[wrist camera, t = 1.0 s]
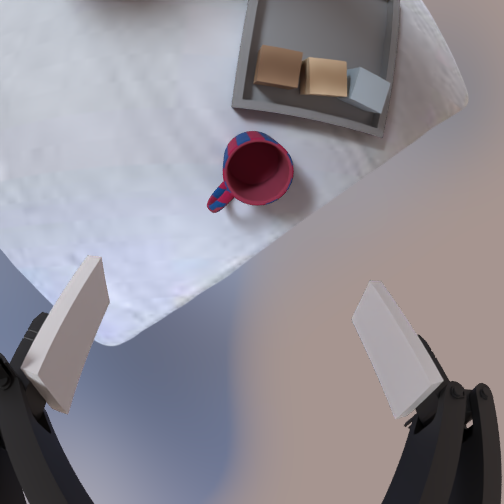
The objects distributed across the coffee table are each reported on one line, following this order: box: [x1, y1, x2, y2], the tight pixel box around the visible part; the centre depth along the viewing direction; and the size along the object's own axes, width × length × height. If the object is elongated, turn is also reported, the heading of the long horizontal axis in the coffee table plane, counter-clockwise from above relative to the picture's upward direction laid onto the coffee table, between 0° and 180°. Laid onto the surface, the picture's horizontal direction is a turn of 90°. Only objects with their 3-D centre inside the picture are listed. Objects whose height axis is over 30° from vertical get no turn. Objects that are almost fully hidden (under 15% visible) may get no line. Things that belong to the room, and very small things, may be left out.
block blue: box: [337, 67, 391, 113], centre depth 24 cm, size 4×4×4 cm
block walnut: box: [253, 45, 303, 90], centre depth 23 cm, size 4×4×4 cm
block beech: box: [300, 57, 347, 97], centre depth 24 cm, size 4×4×4 cm
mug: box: [207, 131, 294, 213], centre depth 28 cm, size 7×10×7 cm
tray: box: [231, 0, 400, 138], centre depth 22 cm, size 22×18×2 cm
